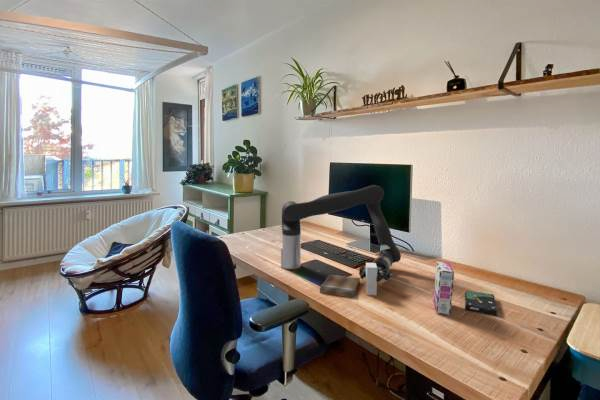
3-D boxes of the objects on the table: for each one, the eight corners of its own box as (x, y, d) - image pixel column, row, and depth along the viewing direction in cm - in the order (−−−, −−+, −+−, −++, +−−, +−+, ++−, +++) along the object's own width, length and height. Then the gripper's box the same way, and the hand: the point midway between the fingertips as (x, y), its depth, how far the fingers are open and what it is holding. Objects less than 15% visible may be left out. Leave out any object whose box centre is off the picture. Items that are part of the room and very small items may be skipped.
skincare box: (364, 289, 139) (365, 262, 137) (374, 289, 138) (375, 262, 137) (366, 295, 133) (367, 267, 131) (376, 295, 132) (377, 267, 131)
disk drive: (497, 317, 116) (493, 300, 130) (498, 310, 116) (493, 293, 129) (465, 311, 121) (464, 295, 134) (465, 304, 120) (464, 289, 134)
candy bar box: (451, 316, 116) (454, 272, 114) (436, 314, 118) (439, 270, 115) (446, 302, 127) (449, 262, 124) (433, 300, 128) (435, 260, 126)
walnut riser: (319, 292, 136) (320, 285, 135) (329, 278, 151) (329, 272, 150) (353, 297, 131) (353, 290, 131) (359, 282, 146) (359, 276, 146)
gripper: (365, 255, 150) (353, 266, 135) (397, 260, 143) (387, 272, 128) (364, 271, 151) (352, 283, 136) (396, 276, 144) (386, 290, 130)
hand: (369, 278), depth 132 cm, fingers closed on skincare box, 6 cm apart
